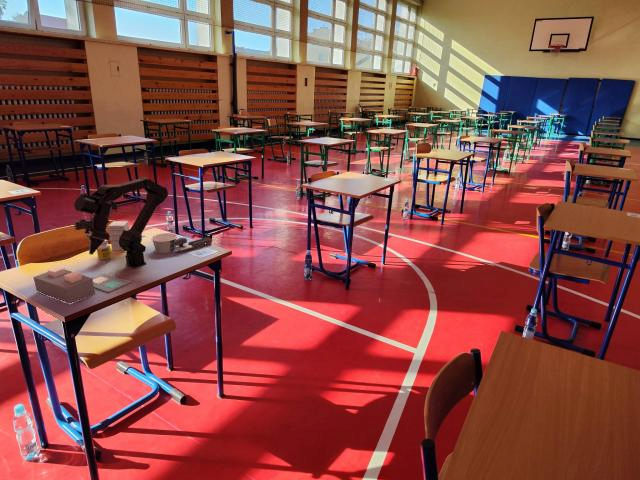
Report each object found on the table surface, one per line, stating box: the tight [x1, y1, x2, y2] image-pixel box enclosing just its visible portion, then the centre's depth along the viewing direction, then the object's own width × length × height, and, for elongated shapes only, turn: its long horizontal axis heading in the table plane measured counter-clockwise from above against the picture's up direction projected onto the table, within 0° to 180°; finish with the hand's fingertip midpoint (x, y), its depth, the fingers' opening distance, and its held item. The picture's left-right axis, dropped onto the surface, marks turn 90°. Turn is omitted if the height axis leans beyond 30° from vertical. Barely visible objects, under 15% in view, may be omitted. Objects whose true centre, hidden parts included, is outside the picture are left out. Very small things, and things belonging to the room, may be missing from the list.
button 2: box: [64, 271, 83, 283], centre depth 155 cm, size 4×4×4 cm
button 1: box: [47, 266, 66, 277], centre depth 160 cm, size 4×4×4 cm
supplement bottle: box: [96, 240, 113, 263], centre depth 188 cm, size 5×5×10 cm
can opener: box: [174, 236, 212, 252], centre depth 205 cm, size 19×5×6 cm, turn 139°
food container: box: [150, 232, 178, 254], centre depth 202 cm, size 12×12×6 cm
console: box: [33, 269, 96, 303], centre depth 158 cm, size 10×20×6 cm, turn 62°
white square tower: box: [107, 220, 130, 251], centre depth 203 cm, size 7×7×13 cm
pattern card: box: [91, 273, 132, 294], centre depth 167 cm, size 10×16×1 cm, turn 62°
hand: (90, 254), depth 166 cm, fingers closed
